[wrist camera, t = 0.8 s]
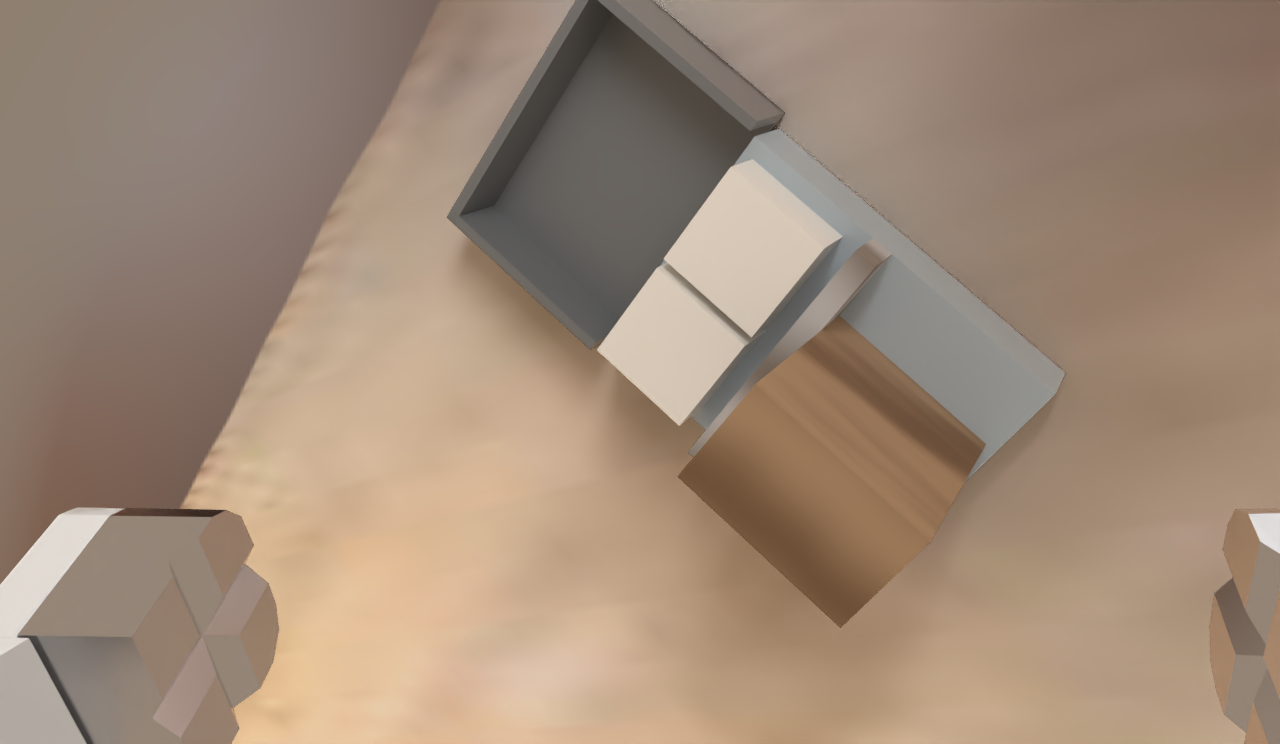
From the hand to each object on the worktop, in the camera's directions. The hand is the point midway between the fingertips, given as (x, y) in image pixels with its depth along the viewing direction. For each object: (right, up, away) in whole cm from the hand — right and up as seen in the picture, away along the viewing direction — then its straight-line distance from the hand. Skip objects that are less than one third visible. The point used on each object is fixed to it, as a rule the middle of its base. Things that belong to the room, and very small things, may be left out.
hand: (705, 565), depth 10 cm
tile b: (+2, +3, +44) cm, 44 cm away
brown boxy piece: (+9, 0, +41) cm, 42 cm away
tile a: (+5, +7, +41) cm, 42 cm away
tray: (-1, +11, +46) cm, 48 cm away
